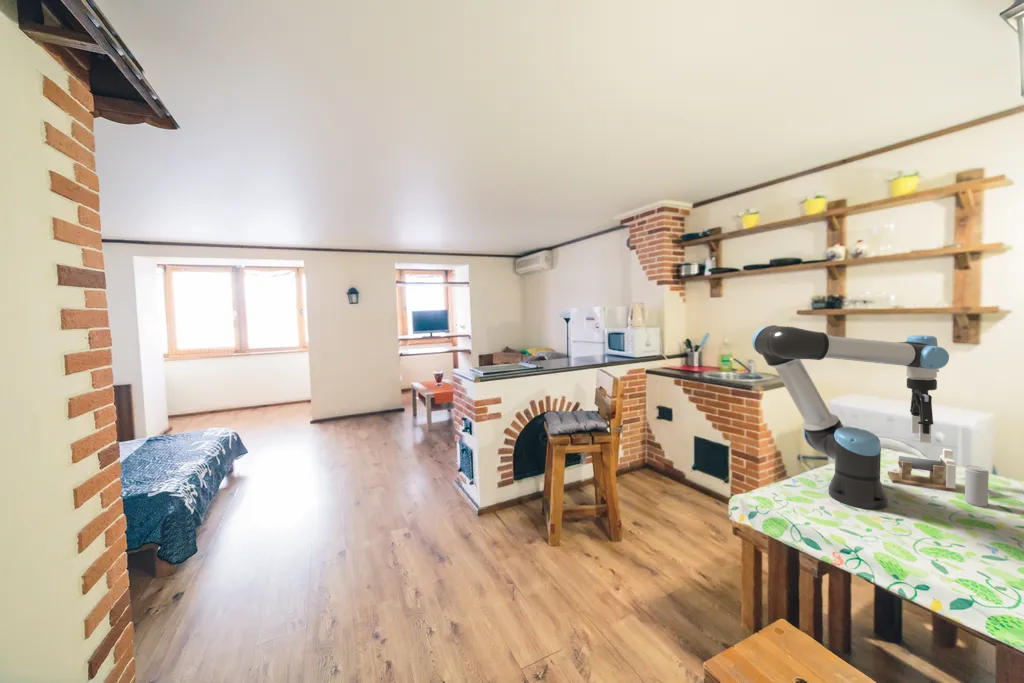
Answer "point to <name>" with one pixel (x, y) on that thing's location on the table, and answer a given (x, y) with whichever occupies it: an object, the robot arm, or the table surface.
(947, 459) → the white bar frame
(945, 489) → the cradle board
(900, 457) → the grey capped cylinder
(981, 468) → the beverage can
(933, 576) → the table surface
